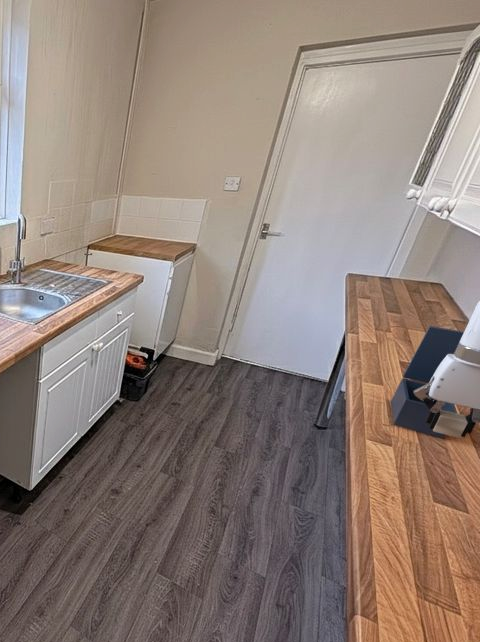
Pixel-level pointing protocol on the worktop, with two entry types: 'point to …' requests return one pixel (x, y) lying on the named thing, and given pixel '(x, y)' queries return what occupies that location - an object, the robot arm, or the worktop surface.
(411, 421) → the chest
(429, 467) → the worktop surface
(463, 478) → the worktop surface
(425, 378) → the lid
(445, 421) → the block
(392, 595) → the worktop surface
